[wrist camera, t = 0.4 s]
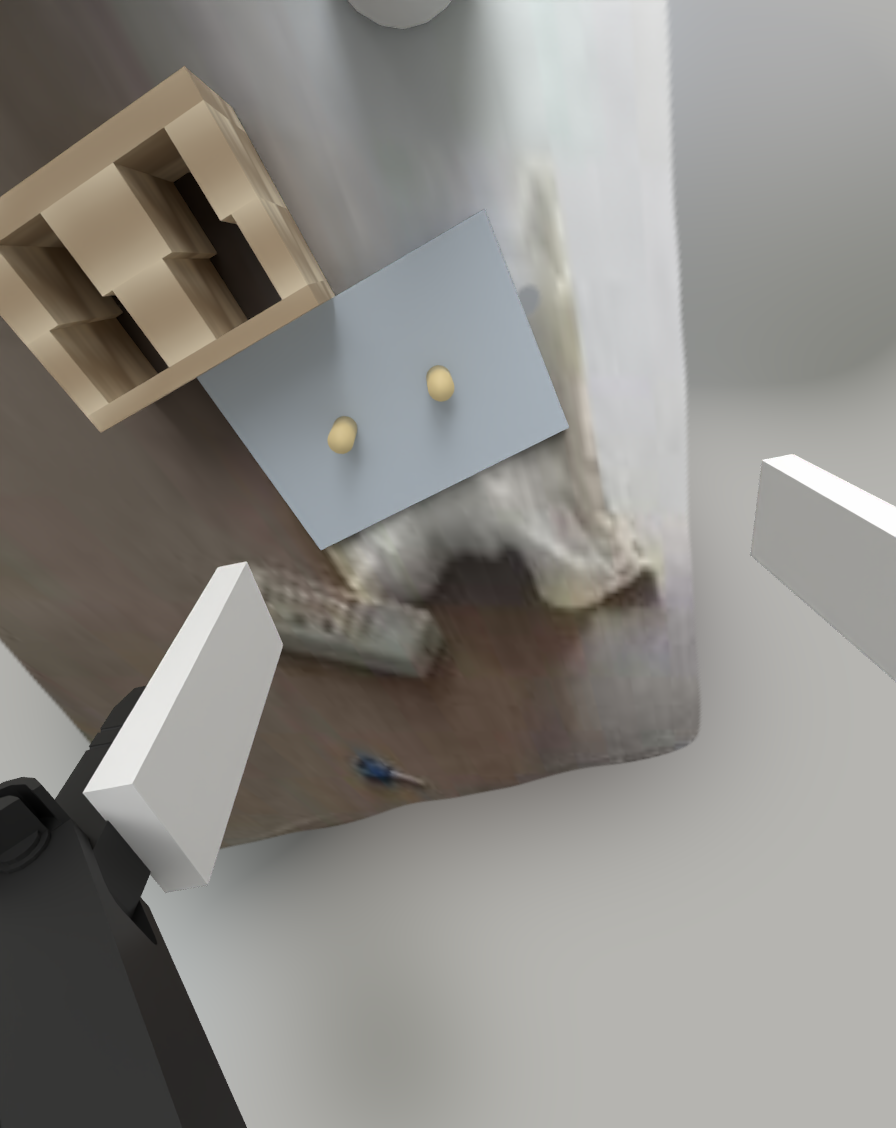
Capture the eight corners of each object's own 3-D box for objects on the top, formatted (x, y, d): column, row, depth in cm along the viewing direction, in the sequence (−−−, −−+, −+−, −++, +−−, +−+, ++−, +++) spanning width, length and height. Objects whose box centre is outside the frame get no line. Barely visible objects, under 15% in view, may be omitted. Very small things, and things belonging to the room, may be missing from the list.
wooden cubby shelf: (30, 245, 31) (-63, 241, 25) (232, 107, 28) (184, 66, 22) (153, 402, 35) (100, 432, 29) (335, 296, 33) (319, 304, 27)
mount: (202, 374, 35) (178, 387, 31) (482, 210, 31) (492, 203, 28) (323, 543, 41) (314, 570, 38) (564, 422, 38) (581, 440, 34)
